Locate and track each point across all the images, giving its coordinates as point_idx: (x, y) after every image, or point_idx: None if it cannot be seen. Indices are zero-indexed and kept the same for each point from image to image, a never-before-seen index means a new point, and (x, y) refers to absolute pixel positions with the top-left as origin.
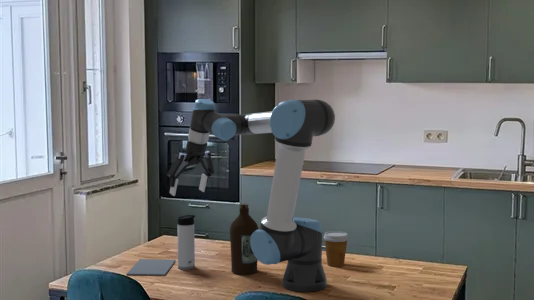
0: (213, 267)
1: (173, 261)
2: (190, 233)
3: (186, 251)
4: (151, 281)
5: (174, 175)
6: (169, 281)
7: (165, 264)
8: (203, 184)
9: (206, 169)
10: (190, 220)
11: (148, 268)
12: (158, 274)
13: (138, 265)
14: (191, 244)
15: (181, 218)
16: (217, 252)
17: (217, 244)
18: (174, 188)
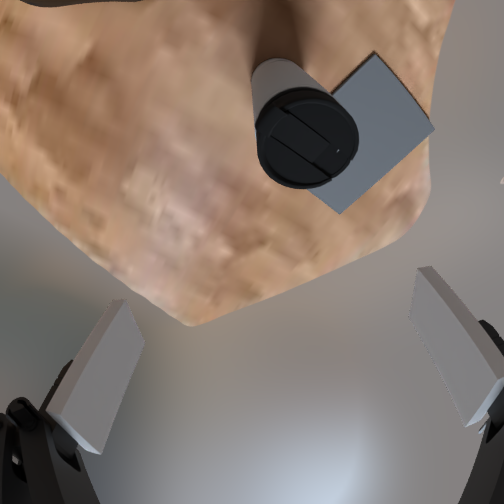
0: (202, 41)
1: None
2: (294, 77)
3: (301, 69)
4: (423, 42)
5: (490, 432)
6: (390, 6)
7: None
8: (105, 353)
9: (40, 495)
10: (306, 93)
11: (376, 130)
12: (387, 67)
13: (376, 169)
14: (282, 69)
15: (341, 142)
16: (125, 182)
17: (108, 243)
18: (464, 309)
